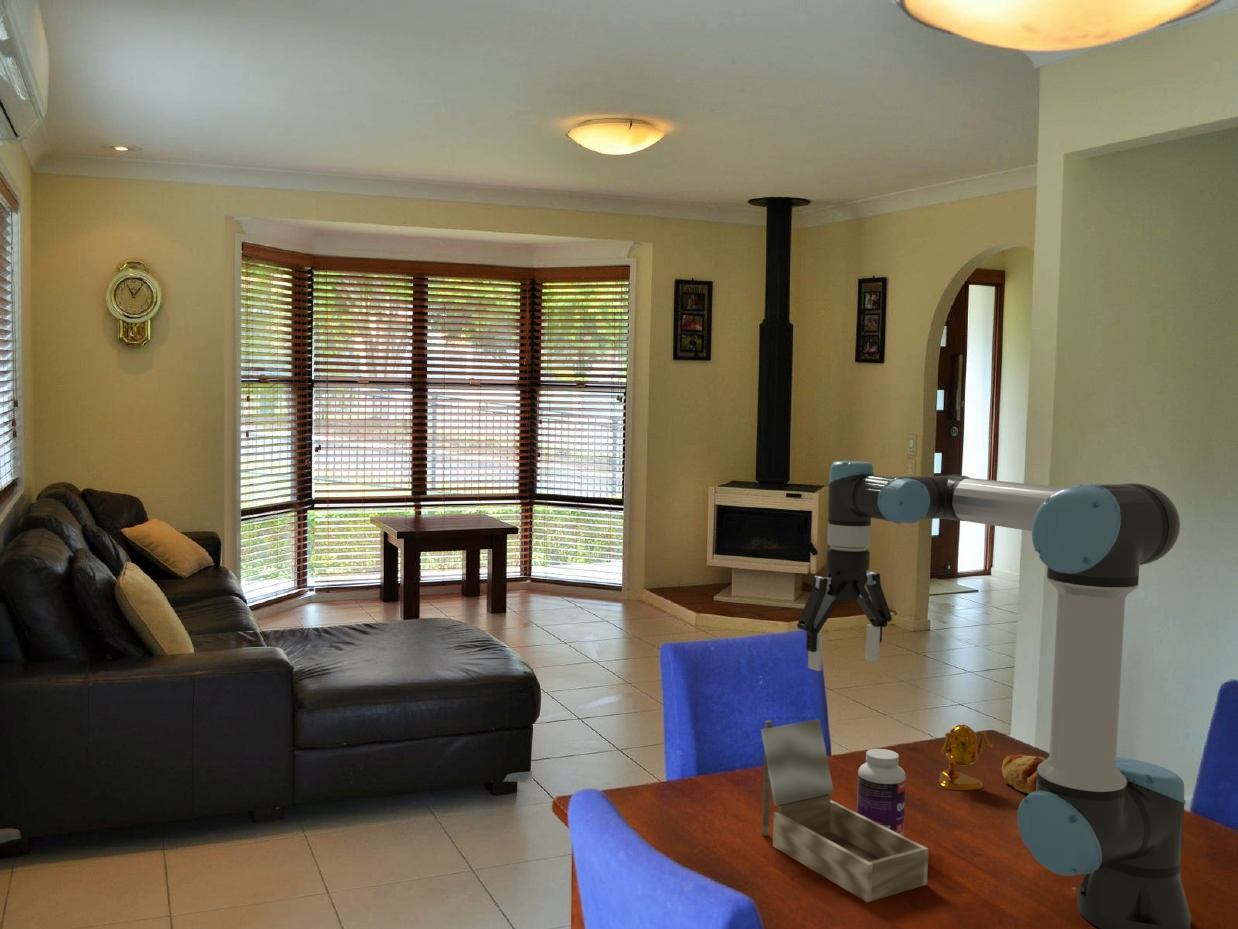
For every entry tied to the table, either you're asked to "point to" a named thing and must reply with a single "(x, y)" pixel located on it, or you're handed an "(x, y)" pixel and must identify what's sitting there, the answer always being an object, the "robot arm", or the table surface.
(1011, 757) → the croissant
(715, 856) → the table surface
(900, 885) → the grey wooden hinged box
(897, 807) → the pill bottle
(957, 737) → the figurine
